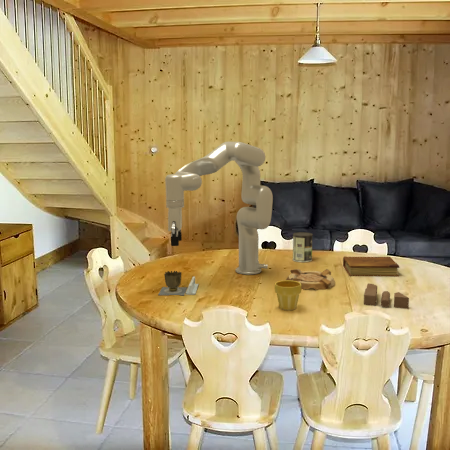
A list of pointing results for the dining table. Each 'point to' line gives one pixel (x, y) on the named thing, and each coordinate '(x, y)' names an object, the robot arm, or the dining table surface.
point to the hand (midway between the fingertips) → (176, 243)
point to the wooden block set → (384, 298)
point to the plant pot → (288, 294)
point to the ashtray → (313, 279)
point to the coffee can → (302, 247)
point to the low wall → (192, 287)
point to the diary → (370, 266)
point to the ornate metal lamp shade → (173, 280)
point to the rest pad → (179, 291)
